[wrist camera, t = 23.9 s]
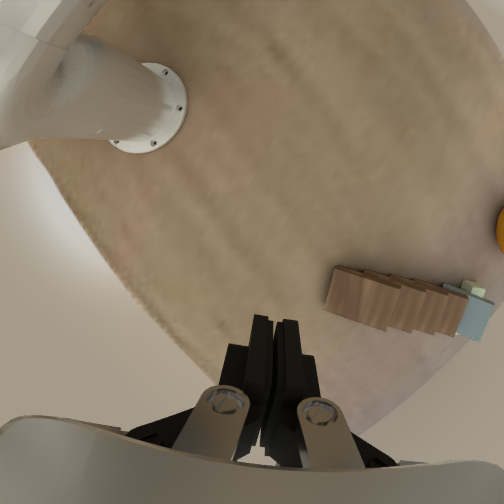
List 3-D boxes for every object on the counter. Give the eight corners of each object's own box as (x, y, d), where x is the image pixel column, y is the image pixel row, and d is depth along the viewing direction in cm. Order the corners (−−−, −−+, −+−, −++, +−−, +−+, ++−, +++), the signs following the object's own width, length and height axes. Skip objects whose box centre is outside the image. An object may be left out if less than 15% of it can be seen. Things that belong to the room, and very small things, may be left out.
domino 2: (351, 313, 41) (411, 333, 37) (362, 272, 39) (426, 292, 35) (354, 308, 42) (411, 328, 38) (365, 269, 41) (426, 288, 37)
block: (446, 325, 42) (454, 334, 39) (463, 279, 40) (473, 286, 37) (459, 326, 42) (467, 335, 39) (476, 281, 40) (485, 289, 37)
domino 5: (429, 321, 41) (478, 342, 35) (442, 285, 39) (494, 305, 33) (431, 318, 42) (479, 338, 37) (444, 282, 40) (494, 302, 35)
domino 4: (399, 319, 41) (453, 337, 37) (412, 281, 39) (468, 299, 35) (401, 315, 42) (453, 332, 38) (413, 278, 41) (467, 295, 36)
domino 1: (323, 309, 41) (385, 331, 37) (334, 268, 39) (400, 289, 35) (327, 305, 43) (387, 326, 38) (338, 265, 41) (401, 285, 37)
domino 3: (376, 316, 41) (433, 335, 37) (389, 276, 39) (448, 296, 35) (378, 311, 42) (433, 330, 38) (390, 273, 41) (447, 292, 36)
